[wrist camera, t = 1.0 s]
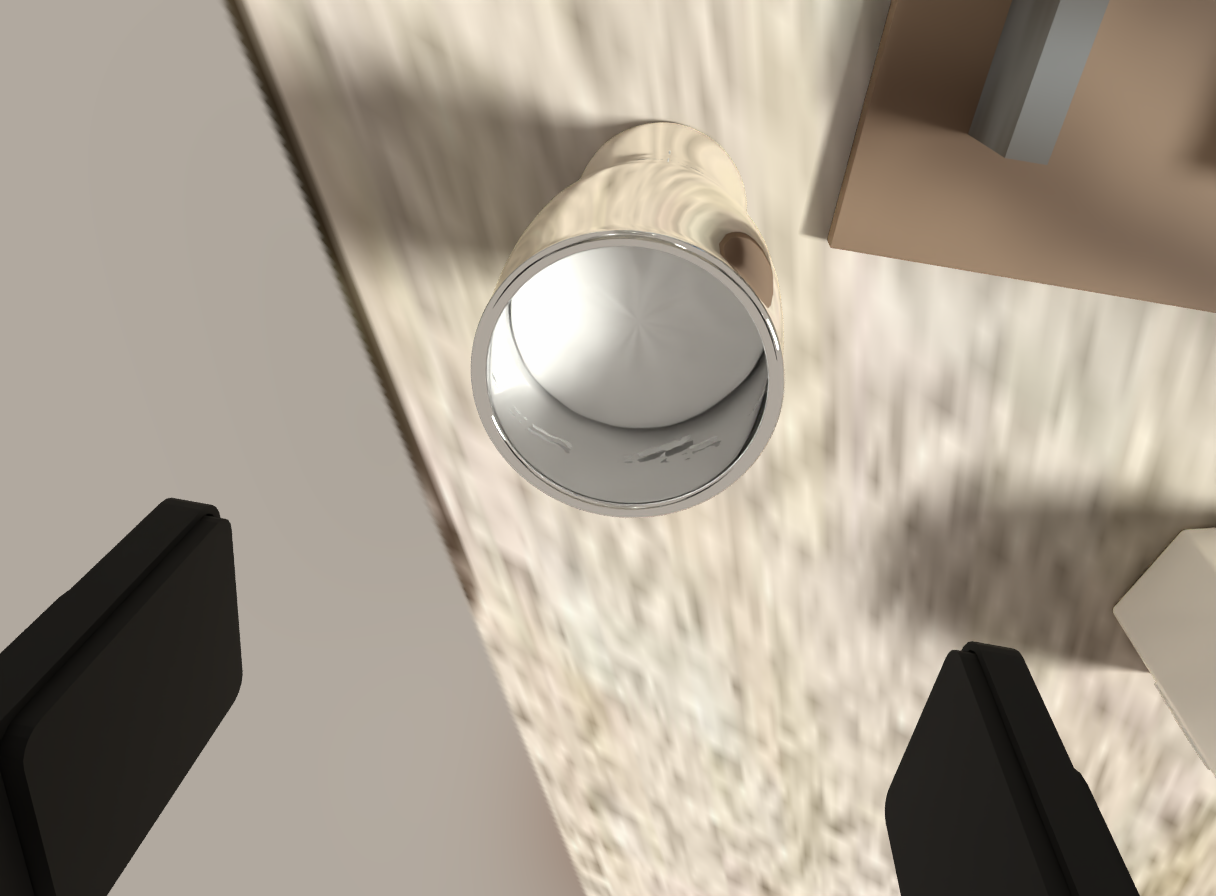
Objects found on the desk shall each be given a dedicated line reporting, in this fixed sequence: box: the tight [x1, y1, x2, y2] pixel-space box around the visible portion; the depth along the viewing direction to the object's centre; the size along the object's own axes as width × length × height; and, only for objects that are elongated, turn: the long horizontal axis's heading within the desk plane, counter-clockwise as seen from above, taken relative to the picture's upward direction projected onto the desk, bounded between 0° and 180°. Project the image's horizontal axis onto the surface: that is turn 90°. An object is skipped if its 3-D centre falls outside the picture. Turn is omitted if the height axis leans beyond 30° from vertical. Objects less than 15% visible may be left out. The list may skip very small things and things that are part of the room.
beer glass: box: [471, 122, 785, 518], centre depth 25 cm, size 7×7×15 cm
